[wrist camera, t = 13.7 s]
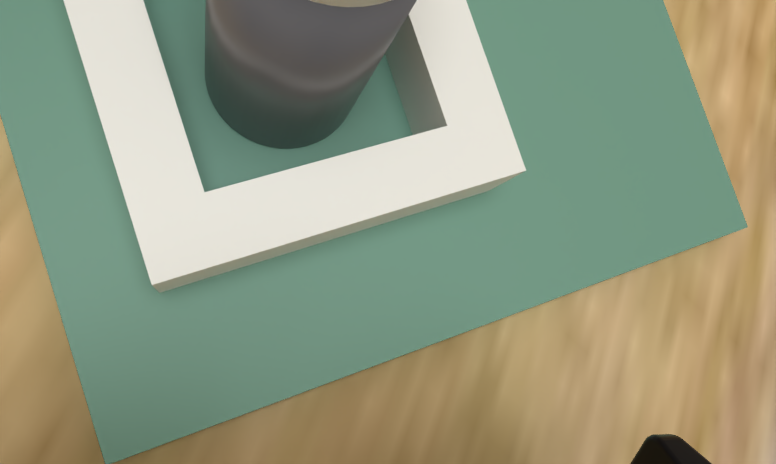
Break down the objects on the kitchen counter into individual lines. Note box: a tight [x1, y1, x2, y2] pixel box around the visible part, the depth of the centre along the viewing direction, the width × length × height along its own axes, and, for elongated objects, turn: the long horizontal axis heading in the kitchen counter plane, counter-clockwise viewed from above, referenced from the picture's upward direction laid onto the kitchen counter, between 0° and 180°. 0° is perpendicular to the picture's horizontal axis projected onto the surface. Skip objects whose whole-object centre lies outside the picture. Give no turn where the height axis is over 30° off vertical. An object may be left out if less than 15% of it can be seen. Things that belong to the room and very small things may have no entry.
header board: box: [0, 0, 748, 464], centre depth 23 cm, size 16×24×4 cm, turn 109°
